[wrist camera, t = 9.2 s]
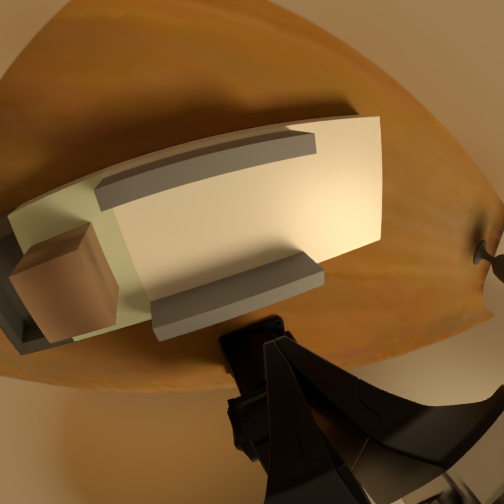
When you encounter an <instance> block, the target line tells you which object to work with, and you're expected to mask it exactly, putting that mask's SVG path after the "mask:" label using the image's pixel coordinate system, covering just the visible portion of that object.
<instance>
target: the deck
mask: <svg viewBox="0 0 504 504" xmlns="http://www.w3.org/2000/svg"><path fill="white" fill-rule="evenodd" d="M286 130H296V131H303V132H310V133H315V142H316V151H317V154H312V155H306V156H301V157H296V158H291V159H286V160H281V161H277V162H272V163H268V164H263V165H259V166H254V167H250V168H246V169H242V170H238V171H234V172H230V173H226V174H222V175H218V176H214V177H211V178H207V179H203V180H200V181H196V182H192V183H189V184H185V185H182V186H179V187H175V188H172V189H169V190H165V191H162V192H159V193H156V194H153V195H149V196H146V197H143V198H140V199H137V200H134V201H131V202H128V203H125V204H122V205H119V206H117V207H114V208H111V209H108V210H105V211H103V212H101V210H100V208H99V205H98V202H97V199H96V196H95V193H94V189H95V188H96V187H97V185H98V184H99V183H100V182H101V180H102V179H103V178H105V177H108V176H111V175H114V174H117V173H119V172H122V171H125V170H128V169H131V168H134V167H137V166H140V165H143V164H147V163H150V162H153V161H156V160H160V159H163V158H166V157H170V156H173V155H177V154H180V153H184V152H188V151H192V150H195V149H199V148H203V147H207V146H212V145H216V144H220V143H224V142H229V141H233V140H238V139H243V138H248V137H253V136H258V135H263V134H269V133H274V132H280V131H286ZM381 214H382V151H381V131H380V117H379V116H370V115H360V114H359V115H345V116H334V117H324V118H315V119H306V120H299V121H291V122H285V123H278V124H272V125H266V126H260V127H254V128H249V129H244V130H239V131H234V132H229V133H225V134H220V135H216V136H211V137H207V138H203V139H199V140H195V141H191V142H187V143H183V144H179V145H176V146H172V147H169V148H165V149H162V150H158V151H155V152H152V153H148V154H145V155H142V156H139V157H136V158H133V159H130V160H127V161H124V162H121V163H118V164H115V165H112V166H110V167H107V168H104V169H101V170H99V171H96V172H93V173H91V174H88V175H86V176H83V177H81V178H78V179H76V180H73V181H71V182H69V183H66V184H64V185H62V186H59V187H57V188H55V189H53V190H50V191H48V192H46V193H44V194H42V195H40V196H37V197H35V198H33V199H31V200H29V201H27V202H25V203H23V204H21V205H20V206H19V207H17V208H16V209H15V210H14V211H13V212H11V213H10V214H9V215H8V219H9V221H10V224H11V226H12V229H13V231H14V234H15V236H16V238H17V240H18V243H19V245H20V247H21V249H22V251H23V254H24V255H25V253H26V252H27V251H28V249H29V248H30V247H31V246H33V245H35V244H38V243H40V242H42V241H45V240H47V239H50V238H52V237H54V236H57V235H59V234H62V233H64V232H67V231H69V230H72V229H75V228H77V227H80V226H82V225H85V224H88V223H90V222H91V223H92V225H93V228H94V231H95V233H96V236H97V238H98V241H99V243H100V246H101V248H102V250H103V253H104V255H105V257H106V260H107V262H108V264H109V267H110V269H111V271H112V273H113V275H114V278H115V280H116V282H117V284H118V286H119V294H118V304H117V315H116V325H114V326H110V327H107V328H103V329H100V330H97V331H93V332H90V333H86V334H83V335H79V336H75V337H72V338H73V340H74V341H78V340H82V339H85V338H89V337H92V336H96V335H99V334H103V333H106V332H110V331H113V330H117V329H120V328H123V327H127V326H130V325H133V324H137V323H140V322H143V321H147V320H150V319H152V318H151V304H150V302H151V301H154V300H158V299H161V298H164V297H167V296H170V295H173V294H176V293H180V292H183V291H186V290H189V289H192V288H195V287H198V286H201V285H204V284H208V283H211V282H214V281H217V280H220V279H223V278H226V277H229V276H232V275H235V274H238V273H241V272H244V271H247V270H250V269H253V268H256V267H259V266H262V265H265V264H268V263H271V262H274V261H277V260H280V259H283V258H286V257H289V256H292V255H295V254H298V253H301V252H305V253H306V254H307V255H308V256H309V257H310V258H311V259H313V260H314V261H315V262H316V263H319V262H322V261H325V260H327V259H330V258H333V257H335V256H338V255H341V254H343V253H346V252H349V251H351V250H354V249H357V248H359V247H362V246H364V245H367V244H370V243H372V242H375V241H377V240H380V235H381Z"/></svg>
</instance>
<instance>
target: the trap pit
mask: <svg viewBox="0 0 504 504" xmlns="http://www.w3.org/2000/svg"><path fill="white" fill-rule="evenodd" d="M19 206H20V205H19ZM19 206H17V207H19ZM17 207H15V208H13V209H12V210H10V211H8V212H6V213H4V214H2V215H0V328H1V329H2V331H3V332H4V333H5V335H6V336H7V338H8V339H9V340H10V342H11V343H12V344H13V346H14V347H15V348H16V350H17V351H18V352H19V353H20V355H25V354H29V353H33V352H37V351H41V350H45V349H49V348H52V347H56V346H60V345H63V344H67V343H71V342H74V340H73V338H68V339H65V340H61V341H57V342H54V343H50V342H49V341H48V340H47V338H46V337H45V335H44V334H43V333H42V331H41V330H40V328H39V327H38V325H37V324H36V322H35V321H34V319H33V318H32V316H31V315H30V313H29V311H28V310H27V308H26V307H25V305H24V303H23V302H22V300H21V298H20V297H19V295H18V293H17V291H16V290H15V288H14V286H13V284H12V282H11V281H10V279H9V276H10V274H11V273H12V272H13V270H14V269H15V267H16V266H17V264H18V263H19V262H20V260H21V259H22V257H23V256H24V254H23V251H22V249H21V247H20V245H19V243H18V240H17V238H16V236H15V234H14V231H13V229H12V226H11V224H10V221H9V219H8V215H9V214H10V213H11V212H13V211H14V210H15V209H16V208H17Z"/></svg>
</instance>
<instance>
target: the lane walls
mask: <svg viewBox="0 0 504 504" xmlns="http://www.w3.org/2000/svg"><path fill="white" fill-rule="evenodd" d="M312 154H317V151H316V142H315V133H310V132H303V131H296V130H286V131H280V132H274V133H269V134H263V135H258V136H253V137H248V138H243V139H238V140H233V141H229V142H224V143H220V144H216V145H212V146H207V147H203V148H199V149H195V150H192V151H188V152H184V153H180V154H177V155H173V156H170V157H166V158H163V159H160V160H156V161H153V162H150V163H147V164H143V165H140V166H137V167H134V168H131V169H128V170H125V171H122V172H119V173H117V174H114V175H111V176H108V177H105V178H103V179H102V180H101V182H100V183H99V184H98V185H97V187H96V188H95V189H94V193H95V196H96V199H97V202H98V205H99V208H100V210H101V212H103V211H105V210H108V209H111V208H114V207H117V206H119V205H122V204H125V203H128V202H131V201H134V200H137V199H140V198H143V197H146V196H149V195H153V194H156V193H159V192H162V191H165V190H169V189H172V188H175V187H179V186H182V185H185V184H189V183H192V182H196V181H200V180H203V179H207V178H211V177H214V176H218V175H222V174H226V173H230V172H234V171H238V170H242V169H246V168H250V167H254V166H259V165H263V164H268V163H272V162H277V161H281V160H286V159H291V158H296V157H301V156H306V155H312ZM321 285H324V270H323V269H322V268H321V267H320V266H319V265H318V264H317V263H316V262H315V261H314V260H313V259H311V258H310V257H309V256H308V255H307V254H306V253H305V252H301V253H298V254H295V255H292V256H289V257H286V258H283V259H280V260H277V261H274V262H271V263H268V264H265V265H262V266H259V267H256V268H253V269H250V270H247V271H244V272H241V273H238V274H235V275H232V276H229V277H226V278H223V279H220V280H217V281H214V282H211V283H208V284H204V285H201V286H198V287H195V288H192V289H189V290H186V291H183V292H180V293H176V294H173V295H170V296H167V297H164V298H161V299H158V300H154V301H151V302H150V304H151V318H152V329H153V331H154V333H155V335H156V337H157V339H158V340H159V342H160V341H164V340H167V339H170V338H173V337H177V336H180V335H183V334H186V333H189V332H193V331H196V330H199V329H202V328H205V327H208V326H211V325H214V324H217V323H220V322H223V321H226V320H229V319H232V318H235V317H238V316H240V315H243V314H246V313H249V312H252V311H255V310H257V309H260V308H263V307H266V306H269V305H271V304H274V303H277V302H279V301H282V300H285V299H287V298H290V297H293V296H295V295H298V294H301V293H303V292H306V291H308V290H311V289H313V288H316V287H318V286H321Z"/></svg>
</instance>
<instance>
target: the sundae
mask: <svg viewBox="0 0 504 504" xmlns="http://www.w3.org/2000/svg"><path fill="white" fill-rule="evenodd" d="M486 245H487V243H486V241H485V240H484V241H482V242H481V243H480V244H479V246H478V248H477V250H476V253H475V256H474V264H475V265H476V264H478V263H479V262H480V261H481V259H485V260H487V261H489V262H490V263H491V264H492V269H493V273H494V274H495V275H496V276H497V278H499V279H500V280H501V281H502V282H503V283H504V255H503V254H502V255H498V256H497V257H492V256H491V255H489V254H488V253H487V251H486Z"/></svg>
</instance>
